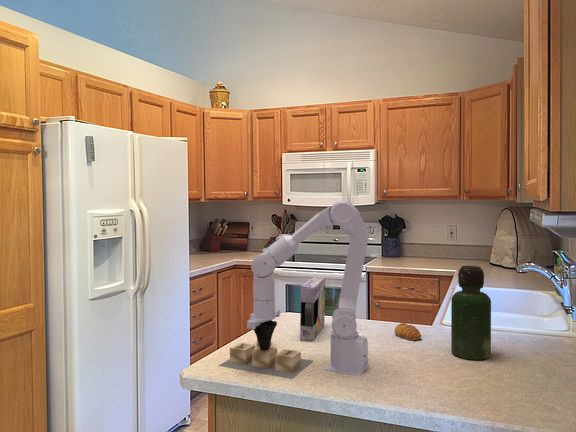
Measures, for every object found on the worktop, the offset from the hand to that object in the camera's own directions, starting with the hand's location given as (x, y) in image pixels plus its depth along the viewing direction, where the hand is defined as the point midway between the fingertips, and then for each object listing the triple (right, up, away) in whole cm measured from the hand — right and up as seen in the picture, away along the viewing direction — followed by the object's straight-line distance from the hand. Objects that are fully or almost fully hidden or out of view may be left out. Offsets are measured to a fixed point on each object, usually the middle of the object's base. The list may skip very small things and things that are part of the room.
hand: (264, 349), depth 124 cm
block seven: (-6, -4, +3) cm, 8 cm away
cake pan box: (+15, -4, +30) cm, 33 cm away
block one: (+6, -4, -3) cm, 8 cm away
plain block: (0, -4, 0) cm, 4 cm away
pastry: (+45, -4, +26) cm, 52 cm away
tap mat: (0, -5, +1) cm, 5 cm away
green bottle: (+58, -4, +7) cm, 59 cm away
